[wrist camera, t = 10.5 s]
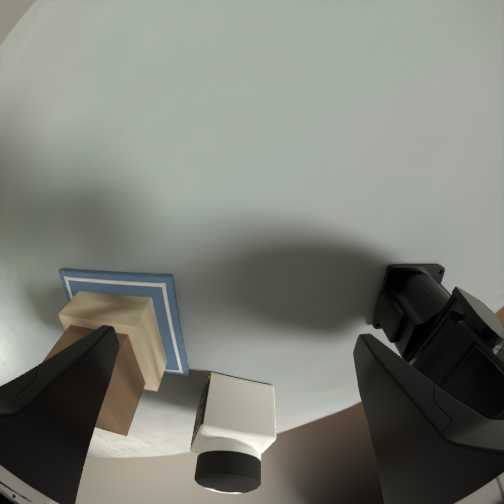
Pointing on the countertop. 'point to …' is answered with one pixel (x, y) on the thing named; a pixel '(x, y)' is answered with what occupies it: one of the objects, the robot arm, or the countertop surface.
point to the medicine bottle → (232, 433)
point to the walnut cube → (113, 382)
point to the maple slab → (122, 326)
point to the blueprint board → (142, 286)
